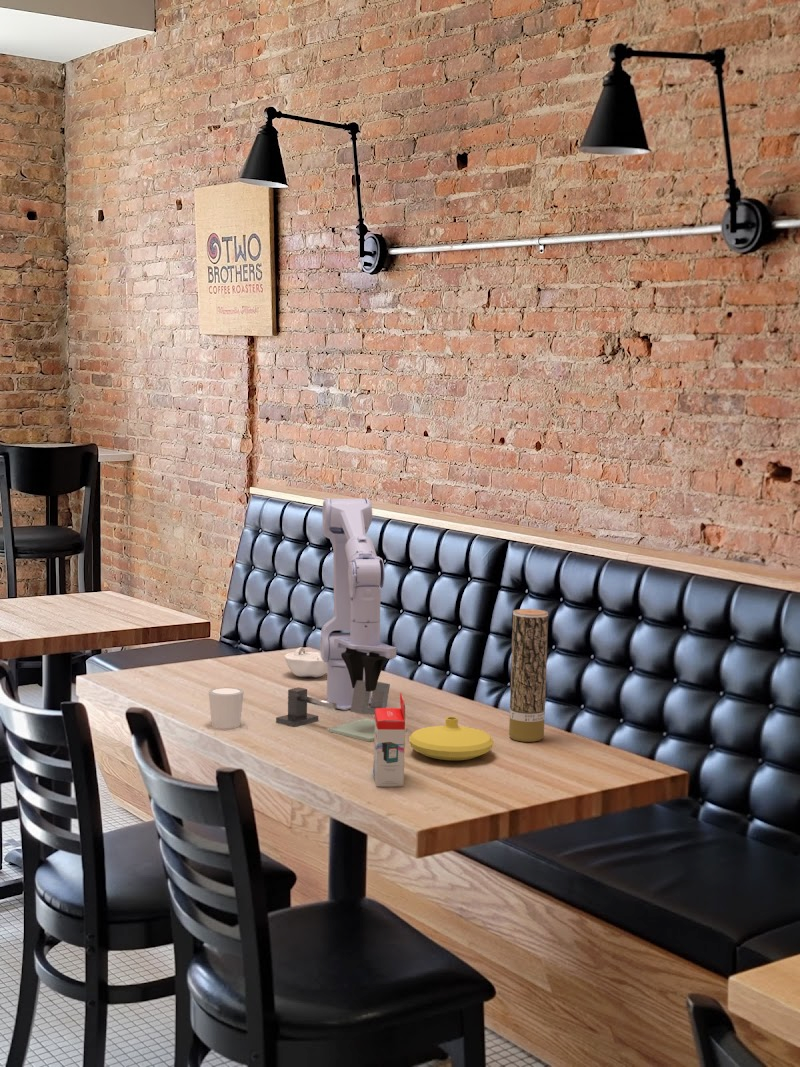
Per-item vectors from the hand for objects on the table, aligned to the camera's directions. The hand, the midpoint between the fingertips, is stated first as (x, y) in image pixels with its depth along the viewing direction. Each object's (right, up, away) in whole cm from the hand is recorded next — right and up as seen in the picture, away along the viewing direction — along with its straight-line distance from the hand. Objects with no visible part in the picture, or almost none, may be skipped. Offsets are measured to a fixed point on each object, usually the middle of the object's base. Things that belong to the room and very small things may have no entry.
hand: (363, 689), depth 261 cm
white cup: (-28, -8, +5) cm, 29 cm away
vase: (+16, -11, -12) cm, 23 cm away
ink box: (+5, -13, -29) cm, 32 cm away
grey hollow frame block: (+1, -6, +2) cm, 6 cm away
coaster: (+1, -9, +3) cm, 9 cm away
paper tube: (+32, -10, 0) cm, 33 cm away
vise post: (-11, -8, +6) cm, 15 cm away
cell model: (-14, -3, +50) cm, 52 cm away
